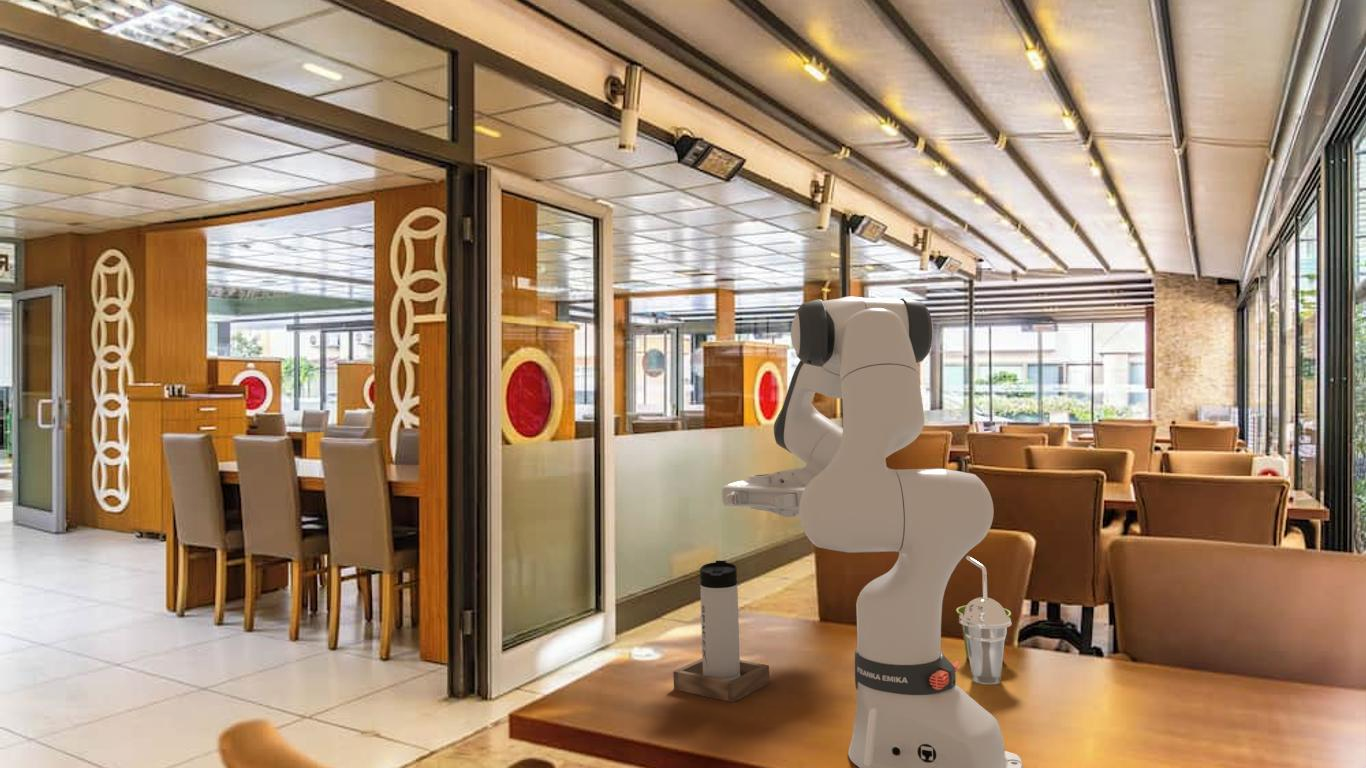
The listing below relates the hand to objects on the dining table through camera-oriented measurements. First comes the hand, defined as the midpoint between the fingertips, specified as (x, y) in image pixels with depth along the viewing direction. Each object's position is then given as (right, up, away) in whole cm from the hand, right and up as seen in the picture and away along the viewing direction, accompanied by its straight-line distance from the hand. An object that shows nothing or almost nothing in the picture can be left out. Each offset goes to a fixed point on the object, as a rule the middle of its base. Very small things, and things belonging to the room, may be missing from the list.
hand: (751, 501), depth 165 cm
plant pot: (+42, -29, +3) cm, 51 cm away
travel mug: (-6, -30, -8) cm, 31 cm away
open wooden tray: (-6, -30, -8) cm, 32 cm away
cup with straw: (+39, -29, -9) cm, 49 cm away
